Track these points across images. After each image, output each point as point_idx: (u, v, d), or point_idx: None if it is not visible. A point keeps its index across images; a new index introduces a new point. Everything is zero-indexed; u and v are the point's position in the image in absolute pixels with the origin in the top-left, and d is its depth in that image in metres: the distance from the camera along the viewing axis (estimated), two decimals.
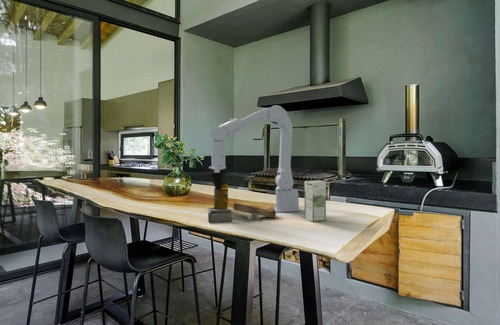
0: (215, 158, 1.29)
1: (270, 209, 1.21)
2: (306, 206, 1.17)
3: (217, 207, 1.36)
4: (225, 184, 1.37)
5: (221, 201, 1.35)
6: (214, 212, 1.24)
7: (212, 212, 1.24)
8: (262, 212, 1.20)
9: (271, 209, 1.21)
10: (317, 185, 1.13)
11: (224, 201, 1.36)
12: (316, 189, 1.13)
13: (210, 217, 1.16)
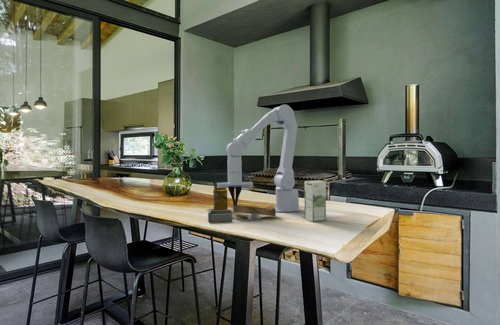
0: None
1: (270, 207, 1.21)
2: (306, 206, 1.17)
3: (217, 209, 1.36)
4: None
5: (220, 203, 1.35)
6: (214, 212, 1.24)
7: (212, 212, 1.24)
8: (262, 211, 1.20)
9: (271, 207, 1.21)
10: (317, 185, 1.13)
11: (223, 203, 1.36)
12: (316, 189, 1.13)
13: (210, 217, 1.16)
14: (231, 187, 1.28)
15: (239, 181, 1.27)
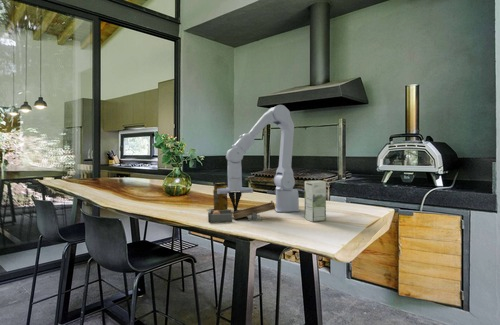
0: None
1: None
2: (306, 206, 1.17)
3: (217, 209, 1.36)
4: (224, 186, 1.36)
5: (220, 203, 1.35)
6: None
7: (212, 212, 1.24)
8: (261, 209, 1.20)
9: None
10: (317, 185, 1.13)
11: (223, 203, 1.36)
12: (316, 189, 1.13)
13: (210, 217, 1.16)
14: (231, 193, 1.28)
15: (239, 187, 1.27)
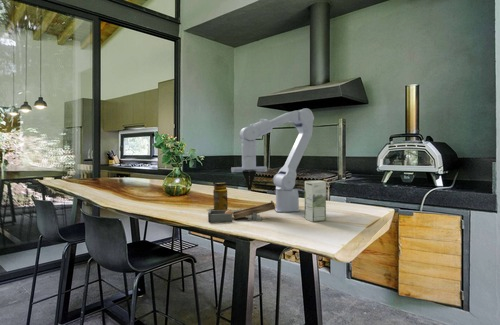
0: None
1: (229, 213, 1.20)
2: (306, 206, 1.17)
3: (217, 209, 1.36)
4: (224, 186, 1.36)
5: (220, 203, 1.35)
6: (214, 212, 1.24)
7: (212, 212, 1.24)
8: (261, 209, 1.20)
9: None
10: (317, 185, 1.13)
11: (223, 203, 1.36)
12: (316, 189, 1.13)
13: (210, 217, 1.16)
14: (245, 171, 1.28)
15: (253, 165, 1.27)
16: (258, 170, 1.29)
